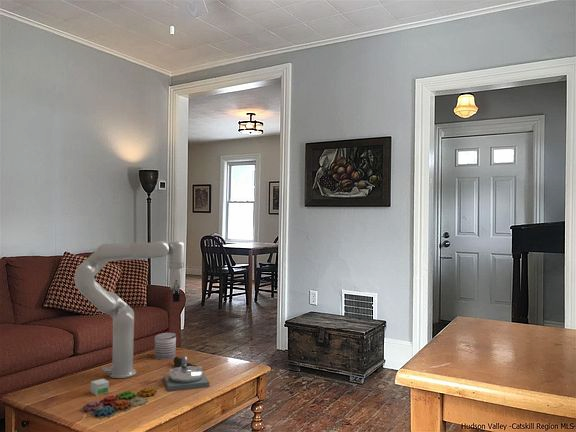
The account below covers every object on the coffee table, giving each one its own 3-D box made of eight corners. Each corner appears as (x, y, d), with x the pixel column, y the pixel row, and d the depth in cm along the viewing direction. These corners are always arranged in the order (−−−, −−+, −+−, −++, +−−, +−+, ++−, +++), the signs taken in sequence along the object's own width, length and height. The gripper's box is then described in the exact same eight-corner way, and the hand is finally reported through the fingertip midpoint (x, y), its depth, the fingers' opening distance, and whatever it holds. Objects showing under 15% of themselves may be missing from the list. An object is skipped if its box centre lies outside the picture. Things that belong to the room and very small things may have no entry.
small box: (96, 396, 197) (96, 384, 197) (90, 392, 201) (90, 381, 201) (109, 392, 201) (109, 381, 202) (103, 389, 205) (103, 378, 205)
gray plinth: (168, 391, 204) (168, 379, 204) (163, 378, 221) (163, 367, 221) (209, 386, 211) (209, 375, 211) (201, 374, 227) (201, 364, 228)
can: (175, 359, 253) (175, 336, 253) (153, 360, 250) (154, 337, 251) (175, 353, 264) (176, 332, 264) (155, 354, 261) (155, 332, 262)
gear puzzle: (144, 389, 208) (144, 379, 208) (168, 397, 198) (168, 387, 198) (78, 411, 182) (78, 400, 182) (102, 421, 173) (102, 410, 173)
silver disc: (171, 384, 206) (172, 366, 206) (167, 374, 220) (167, 357, 220) (205, 380, 212) (205, 363, 212) (199, 371, 226) (199, 354, 226)
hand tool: (197, 372, 231) (197, 363, 231) (190, 374, 228) (190, 364, 228) (179, 363, 245) (179, 355, 245) (172, 365, 242) (172, 356, 242)
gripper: (169, 264, 241) (168, 297, 241) (168, 267, 225) (168, 303, 224) (183, 264, 243) (183, 297, 243) (184, 267, 226) (184, 302, 226)
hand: (176, 300), depth 234 cm, fingers open, 9 cm apart
